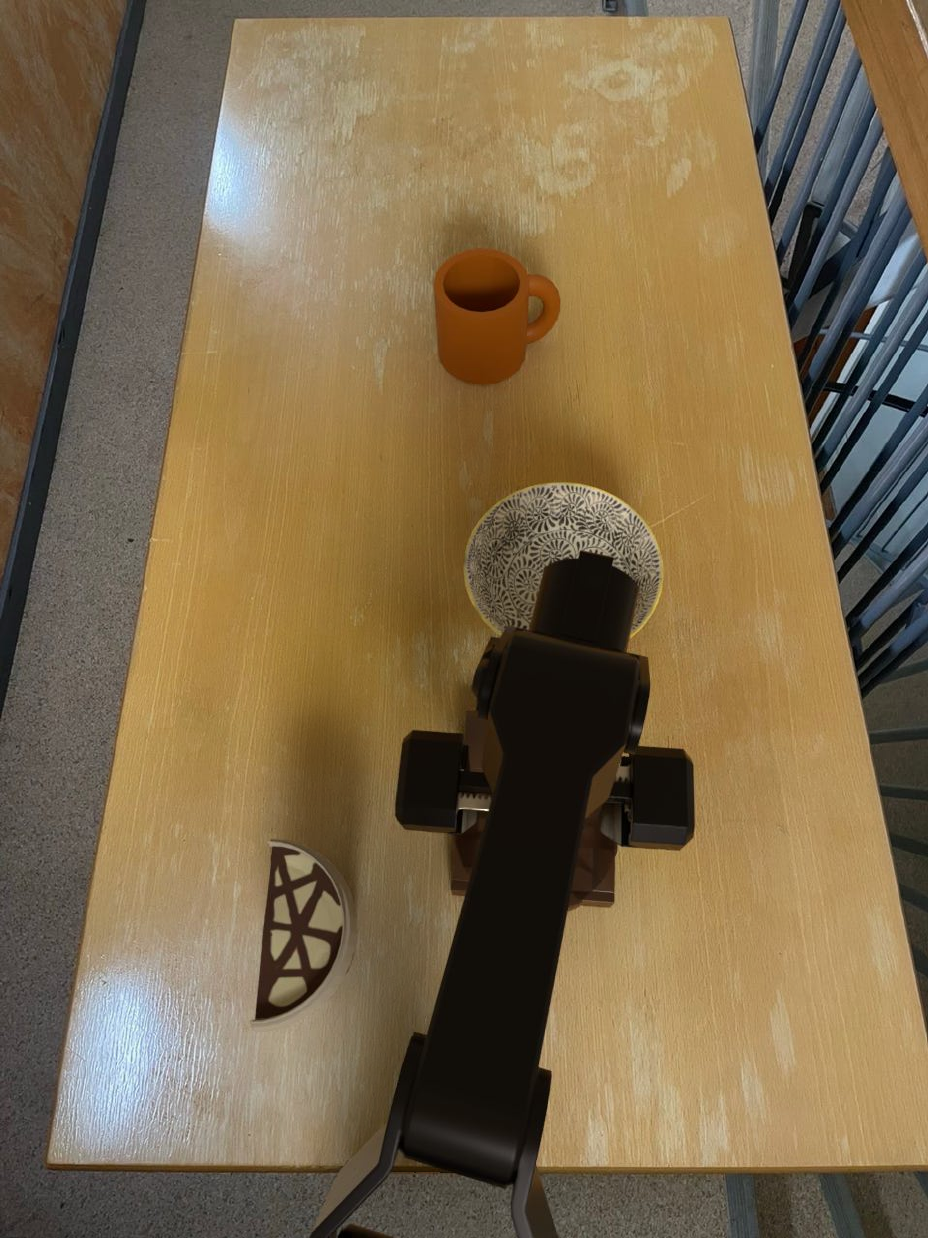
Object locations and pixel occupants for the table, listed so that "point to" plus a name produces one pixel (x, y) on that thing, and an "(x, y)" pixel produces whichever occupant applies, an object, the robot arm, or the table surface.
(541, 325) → the mug
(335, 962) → the food container
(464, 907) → the robot arm
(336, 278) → the table surface
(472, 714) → the holder
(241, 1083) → the table surface
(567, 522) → the bowl
